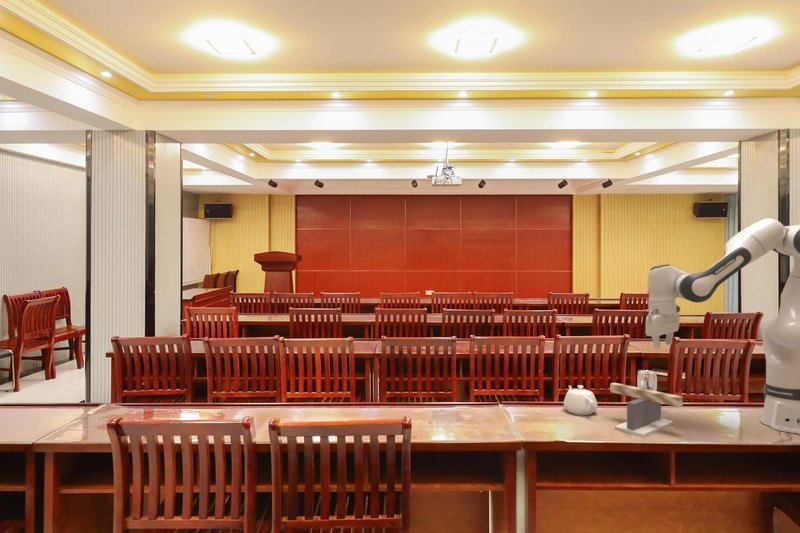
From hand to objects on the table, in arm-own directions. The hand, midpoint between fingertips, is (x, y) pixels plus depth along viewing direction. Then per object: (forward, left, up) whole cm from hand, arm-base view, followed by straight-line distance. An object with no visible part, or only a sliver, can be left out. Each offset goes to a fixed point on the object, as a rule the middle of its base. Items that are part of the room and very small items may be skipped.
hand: (663, 346), depth 182 cm
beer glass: (+9, -8, -28) cm, 30 cm away
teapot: (+24, +15, -28) cm, 40 cm away
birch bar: (0, +13, -17) cm, 22 cm away
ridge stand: (0, +13, -27) cm, 30 cm away
